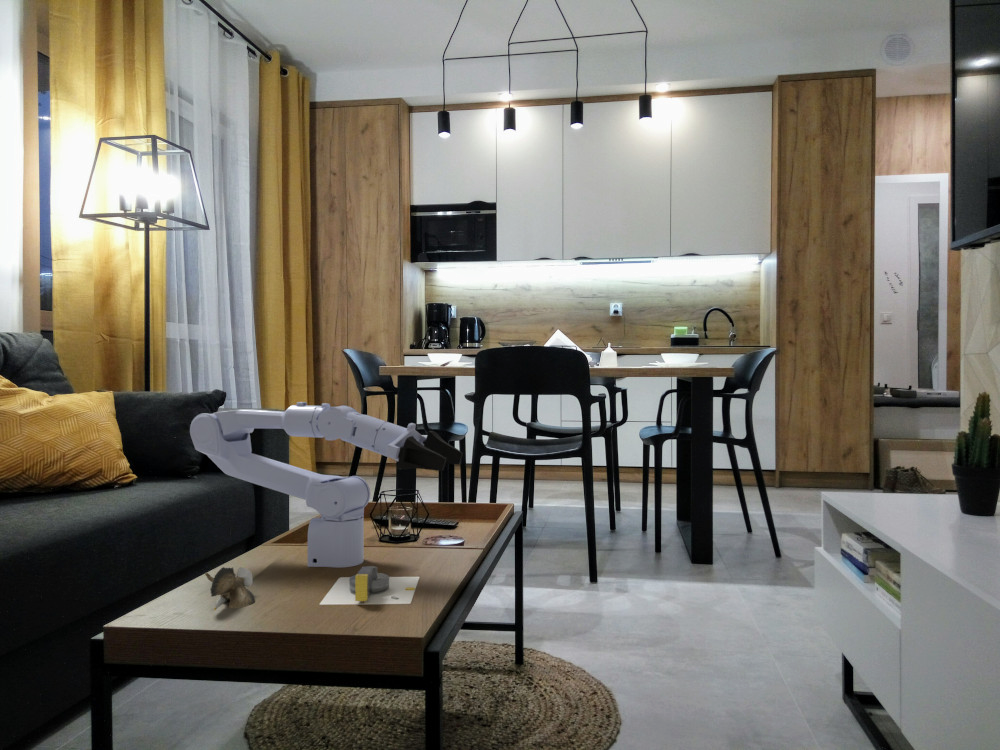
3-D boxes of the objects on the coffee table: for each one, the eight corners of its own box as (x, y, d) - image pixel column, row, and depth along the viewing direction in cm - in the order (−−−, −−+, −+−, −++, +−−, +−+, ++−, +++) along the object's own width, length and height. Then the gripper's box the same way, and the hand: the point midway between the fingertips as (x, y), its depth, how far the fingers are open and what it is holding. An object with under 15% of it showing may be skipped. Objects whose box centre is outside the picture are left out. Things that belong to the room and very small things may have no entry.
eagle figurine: (189, 599, 101) (196, 603, 93) (216, 553, 104) (226, 555, 97) (236, 621, 104) (247, 627, 96) (261, 576, 107) (274, 579, 99)
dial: (353, 582, 109) (353, 558, 109) (391, 581, 109) (391, 558, 109) (339, 602, 99) (340, 576, 99) (382, 602, 99) (382, 575, 99)
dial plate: (319, 611, 99) (319, 603, 99) (339, 583, 113) (339, 576, 113) (410, 610, 99) (410, 602, 99) (419, 582, 113) (419, 575, 113)
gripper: (368, 418, 113) (442, 443, 109) (406, 412, 127) (473, 434, 123) (358, 459, 114) (431, 485, 110) (396, 449, 128) (463, 472, 124)
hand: (453, 461), depth 117 cm, fingers open, 7 cm apart
